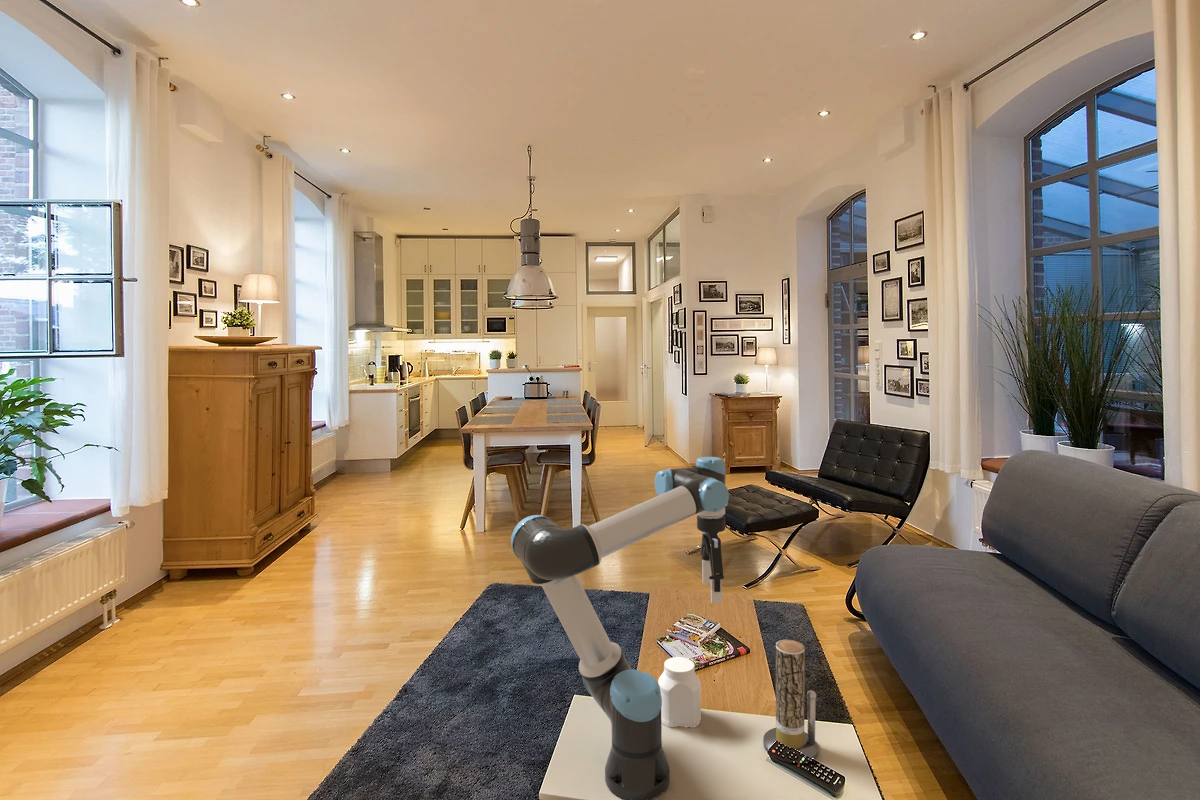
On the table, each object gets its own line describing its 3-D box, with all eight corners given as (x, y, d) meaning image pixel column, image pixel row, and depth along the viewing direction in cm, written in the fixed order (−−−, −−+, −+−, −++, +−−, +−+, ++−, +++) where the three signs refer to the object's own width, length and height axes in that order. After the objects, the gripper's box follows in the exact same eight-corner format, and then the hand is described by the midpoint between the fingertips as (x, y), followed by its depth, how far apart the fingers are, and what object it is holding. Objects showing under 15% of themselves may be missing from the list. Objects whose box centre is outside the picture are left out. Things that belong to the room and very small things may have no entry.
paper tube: (805, 752, 148) (806, 653, 147) (777, 749, 150) (777, 651, 148) (802, 735, 155) (802, 640, 153) (774, 732, 157) (774, 638, 155)
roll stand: (771, 764, 146) (771, 706, 145) (757, 731, 159) (757, 678, 158) (825, 763, 146) (825, 705, 145) (807, 730, 159) (807, 677, 158)
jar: (659, 727, 162) (658, 673, 161) (657, 707, 171) (657, 655, 170) (703, 728, 161) (702, 673, 160) (699, 707, 171) (698, 655, 170)
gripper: (735, 527, 150) (735, 611, 151) (716, 503, 175) (717, 575, 176) (704, 528, 150) (705, 612, 151) (690, 504, 175) (691, 576, 176)
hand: (711, 592), depth 164 cm, fingers open, 13 cm apart
